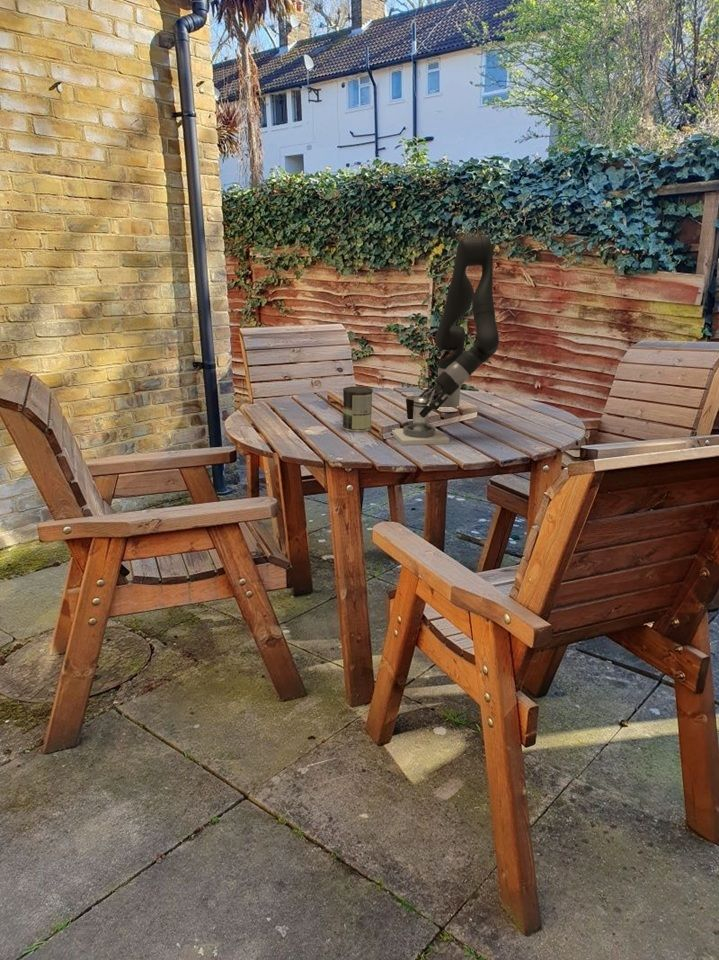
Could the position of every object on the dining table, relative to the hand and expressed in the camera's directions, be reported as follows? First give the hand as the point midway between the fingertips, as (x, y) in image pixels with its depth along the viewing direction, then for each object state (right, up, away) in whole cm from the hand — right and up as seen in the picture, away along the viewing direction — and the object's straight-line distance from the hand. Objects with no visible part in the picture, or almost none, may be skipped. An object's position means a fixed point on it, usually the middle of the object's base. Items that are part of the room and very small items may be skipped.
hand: (417, 413), depth 225 cm
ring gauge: (+1, -8, +3) cm, 9 cm away
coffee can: (-20, -4, +14) cm, 25 cm away
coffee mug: (+3, -2, +22) cm, 22 cm away
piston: (+1, -7, +2) cm, 7 cm away
